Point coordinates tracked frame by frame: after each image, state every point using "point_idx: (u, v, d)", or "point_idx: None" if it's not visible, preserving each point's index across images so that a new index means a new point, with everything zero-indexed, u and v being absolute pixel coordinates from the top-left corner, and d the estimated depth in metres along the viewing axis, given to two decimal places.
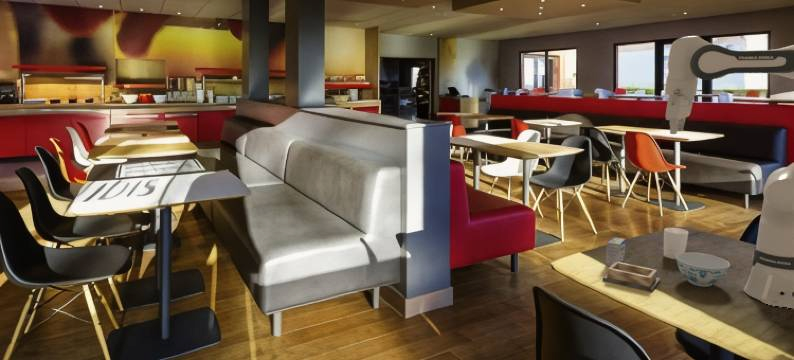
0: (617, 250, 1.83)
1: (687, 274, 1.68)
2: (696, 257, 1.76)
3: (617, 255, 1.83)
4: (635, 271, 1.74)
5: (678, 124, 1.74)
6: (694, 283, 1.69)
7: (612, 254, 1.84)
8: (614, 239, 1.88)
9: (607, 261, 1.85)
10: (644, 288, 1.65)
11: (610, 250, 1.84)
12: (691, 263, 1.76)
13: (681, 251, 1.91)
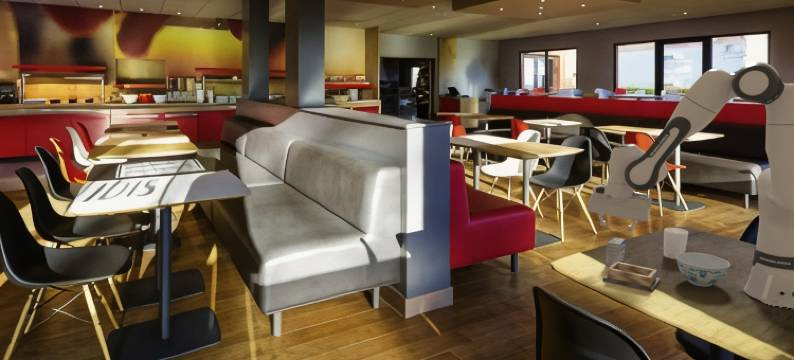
0: (617, 250, 1.83)
1: (687, 274, 1.68)
2: (696, 257, 1.76)
3: (617, 255, 1.83)
4: (635, 271, 1.74)
5: (601, 220, 1.87)
6: (694, 283, 1.69)
7: (612, 254, 1.84)
8: (614, 239, 1.88)
9: (607, 261, 1.85)
10: (644, 288, 1.65)
11: (610, 250, 1.84)
12: (691, 263, 1.76)
13: (681, 251, 1.91)
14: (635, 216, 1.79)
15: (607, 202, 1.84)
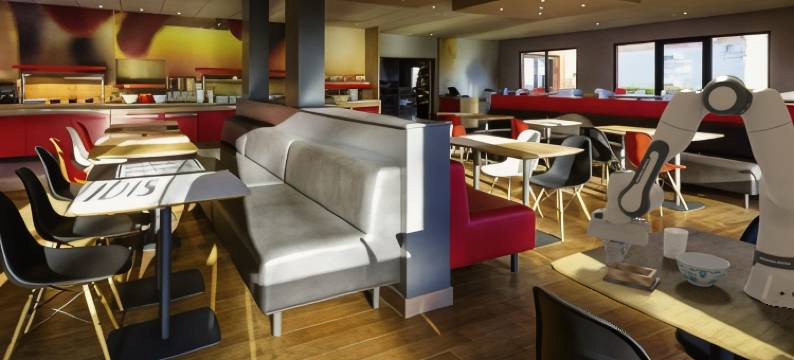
0: (617, 250, 1.83)
1: (687, 274, 1.68)
2: (696, 257, 1.76)
3: (617, 255, 1.83)
4: (635, 271, 1.74)
5: (606, 245, 1.88)
6: (694, 283, 1.69)
7: (612, 254, 1.84)
8: None
9: (607, 261, 1.85)
10: (644, 288, 1.65)
11: (610, 250, 1.84)
12: (691, 263, 1.76)
13: (681, 251, 1.91)
14: (634, 241, 1.81)
15: (606, 227, 1.86)
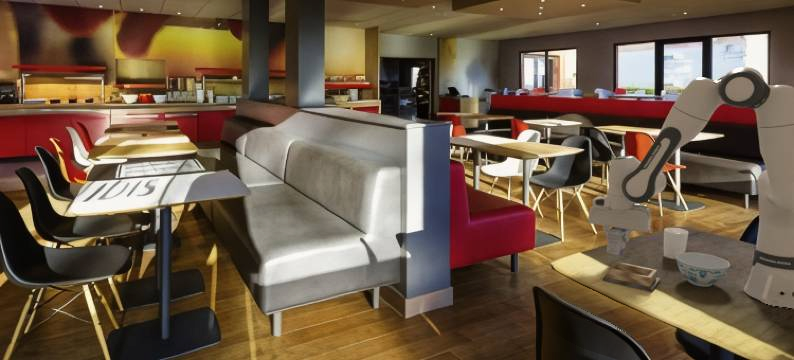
0: (618, 237, 1.82)
1: (687, 274, 1.68)
2: (696, 257, 1.76)
3: (618, 242, 1.82)
4: (635, 271, 1.74)
5: (607, 232, 1.87)
6: (694, 283, 1.69)
7: (613, 241, 1.83)
8: None
9: (608, 248, 1.85)
10: (644, 288, 1.65)
11: (611, 237, 1.83)
12: (691, 263, 1.76)
13: (681, 251, 1.91)
14: (636, 227, 1.80)
15: (607, 214, 1.85)
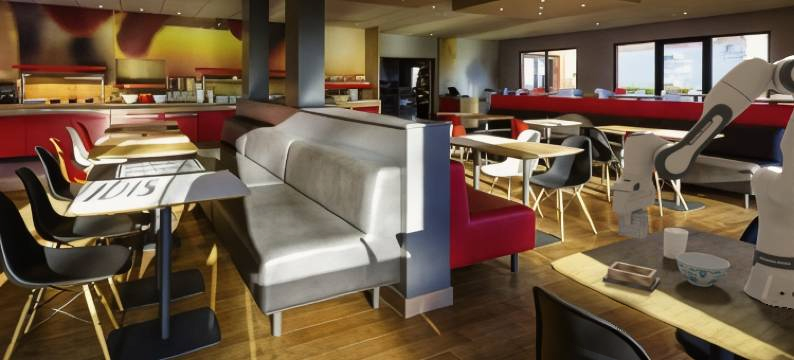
0: (647, 218, 1.70)
1: (687, 274, 1.68)
2: (696, 257, 1.76)
3: (647, 223, 1.70)
4: (635, 271, 1.74)
5: None
6: (694, 283, 1.69)
7: (644, 224, 1.69)
8: None
9: (641, 234, 1.69)
10: (644, 288, 1.65)
11: (644, 221, 1.68)
12: (691, 263, 1.76)
13: (681, 251, 1.91)
14: (649, 203, 1.73)
15: (634, 198, 1.67)
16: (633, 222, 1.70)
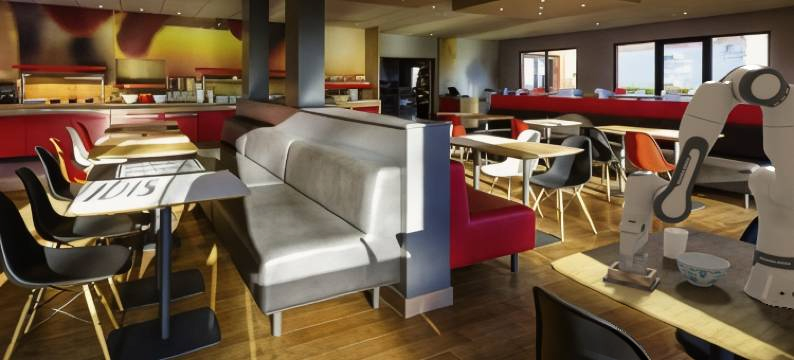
0: (647, 260, 1.70)
1: (687, 274, 1.68)
2: (696, 257, 1.76)
3: None
4: None
5: None
6: (694, 283, 1.69)
7: (646, 267, 1.69)
8: None
9: None
10: (644, 288, 1.65)
11: (645, 264, 1.68)
12: (691, 263, 1.76)
13: (681, 251, 1.91)
14: (645, 240, 1.74)
15: (637, 238, 1.66)
16: (635, 265, 1.69)
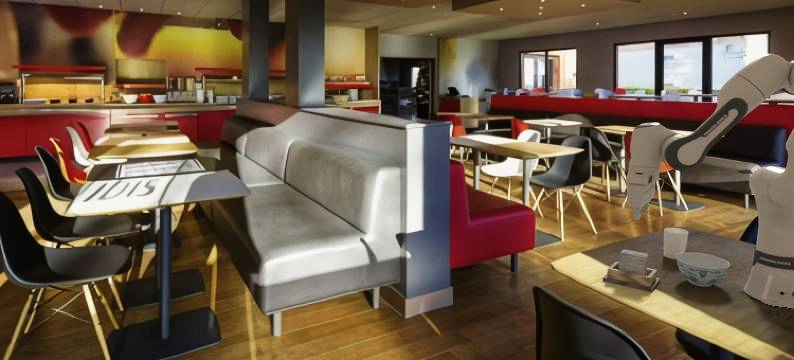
0: (647, 260, 1.70)
1: (687, 274, 1.68)
2: (696, 257, 1.76)
3: None
4: None
5: None
6: (694, 283, 1.69)
7: (646, 267, 1.69)
8: (629, 253, 1.70)
9: None
10: (644, 288, 1.65)
11: (645, 264, 1.68)
12: (691, 263, 1.76)
13: (681, 251, 1.91)
14: (652, 195, 1.71)
15: (645, 191, 1.64)
16: (635, 265, 1.69)
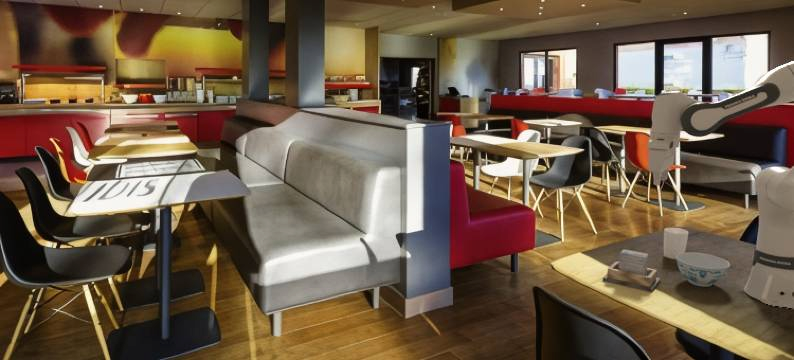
0: (647, 260, 1.70)
1: (687, 274, 1.68)
2: (696, 257, 1.76)
3: None
4: None
5: None
6: (694, 283, 1.69)
7: (646, 267, 1.69)
8: (629, 253, 1.70)
9: None
10: (644, 288, 1.65)
11: (645, 264, 1.68)
12: (691, 263, 1.76)
13: (681, 251, 1.91)
14: (672, 162, 1.78)
15: (665, 157, 1.70)
16: (635, 265, 1.69)
